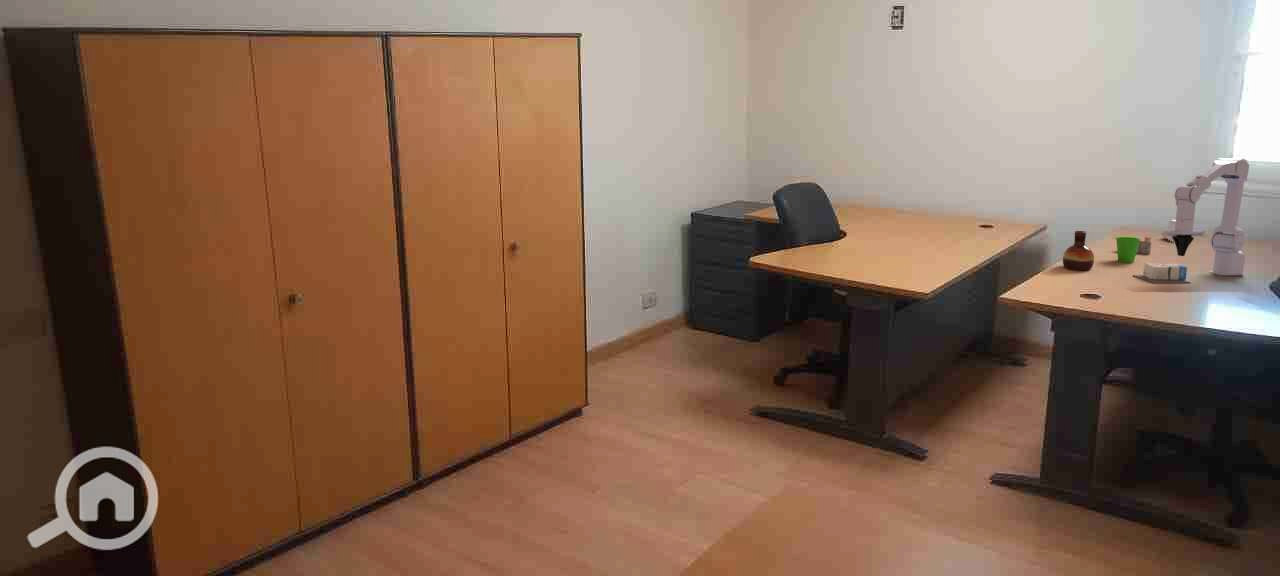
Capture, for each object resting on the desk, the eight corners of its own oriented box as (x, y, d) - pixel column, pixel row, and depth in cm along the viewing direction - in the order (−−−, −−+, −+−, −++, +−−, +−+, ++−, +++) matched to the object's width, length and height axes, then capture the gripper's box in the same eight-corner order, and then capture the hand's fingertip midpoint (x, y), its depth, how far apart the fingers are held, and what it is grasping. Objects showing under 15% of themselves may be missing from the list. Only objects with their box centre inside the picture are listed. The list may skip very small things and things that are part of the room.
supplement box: (1172, 249, 405) (1175, 221, 403) (1165, 247, 413) (1168, 219, 410) (1190, 250, 404) (1193, 221, 402) (1183, 247, 411) (1186, 219, 409)
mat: (1167, 275, 343) (1167, 274, 343) (1190, 283, 329) (1190, 282, 329) (1132, 276, 344) (1132, 275, 344) (1154, 283, 329) (1154, 282, 329)
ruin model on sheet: (1149, 259, 383) (1151, 236, 381) (1149, 260, 381) (1151, 237, 379) (1119, 257, 389) (1121, 234, 387) (1118, 258, 386) (1121, 235, 385)
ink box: (1187, 267, 331) (1153, 266, 333) (1186, 280, 332) (1151, 279, 334) (1177, 263, 339) (1143, 262, 341) (1175, 276, 340) (1142, 275, 342)
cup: (1114, 266, 365) (1116, 239, 363) (1112, 262, 373) (1114, 236, 371) (1139, 267, 362) (1142, 240, 360) (1136, 263, 370) (1139, 237, 368)
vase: (1096, 270, 356) (1100, 231, 353) (1087, 274, 348) (1091, 234, 345) (1067, 267, 364) (1070, 229, 361) (1057, 271, 356) (1060, 231, 353)
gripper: (1198, 217, 336) (1194, 253, 338) (1158, 217, 336) (1155, 254, 338) (1209, 219, 329) (1205, 256, 331) (1169, 220, 329) (1165, 257, 331)
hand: (1181, 255), depth 334 cm, fingers closed
